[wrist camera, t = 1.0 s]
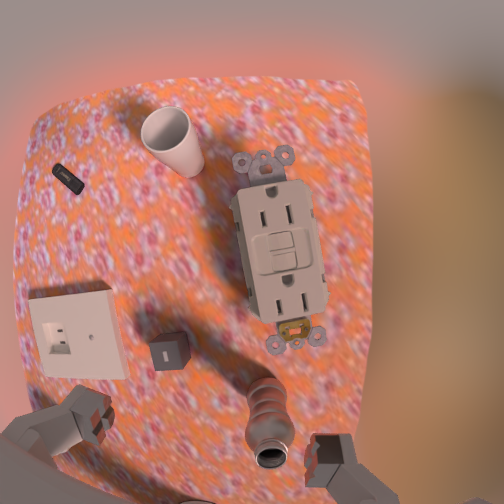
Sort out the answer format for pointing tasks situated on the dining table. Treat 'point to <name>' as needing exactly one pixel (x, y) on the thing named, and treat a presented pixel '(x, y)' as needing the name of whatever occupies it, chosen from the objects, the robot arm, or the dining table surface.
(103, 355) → the outlet plate
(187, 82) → the dining table surface
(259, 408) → the plastic bottle
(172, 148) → the drinking glass
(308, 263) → the electrical outlet
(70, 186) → the usb stick
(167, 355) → the block
